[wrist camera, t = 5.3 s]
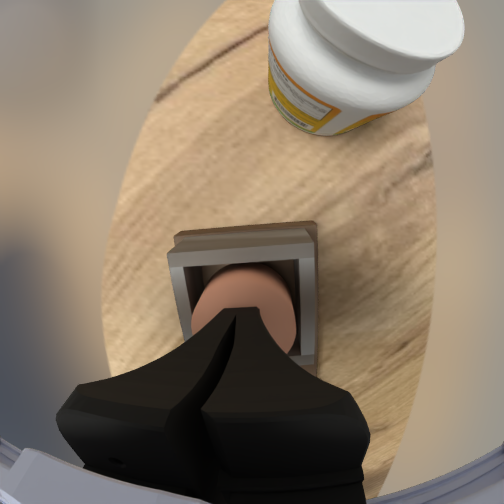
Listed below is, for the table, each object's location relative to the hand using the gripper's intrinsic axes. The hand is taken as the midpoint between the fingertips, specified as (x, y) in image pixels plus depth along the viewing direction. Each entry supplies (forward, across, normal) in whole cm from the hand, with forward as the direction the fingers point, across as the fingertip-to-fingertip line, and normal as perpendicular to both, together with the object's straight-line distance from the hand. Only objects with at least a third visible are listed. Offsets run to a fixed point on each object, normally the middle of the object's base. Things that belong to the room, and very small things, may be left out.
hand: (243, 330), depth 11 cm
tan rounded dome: (+2, 0, 0) cm, 2 cm away
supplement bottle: (+6, -4, -10) cm, 12 cm away
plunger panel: (+5, 0, +5) cm, 7 cm away
